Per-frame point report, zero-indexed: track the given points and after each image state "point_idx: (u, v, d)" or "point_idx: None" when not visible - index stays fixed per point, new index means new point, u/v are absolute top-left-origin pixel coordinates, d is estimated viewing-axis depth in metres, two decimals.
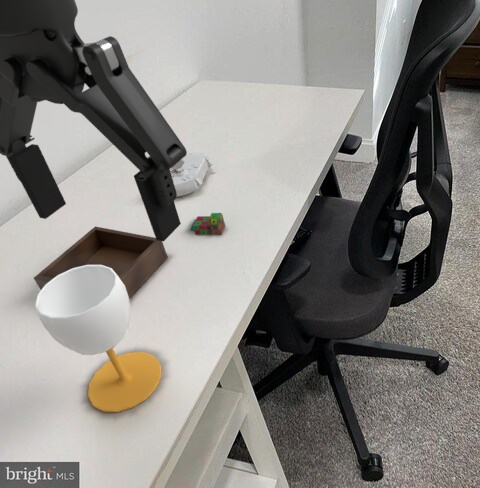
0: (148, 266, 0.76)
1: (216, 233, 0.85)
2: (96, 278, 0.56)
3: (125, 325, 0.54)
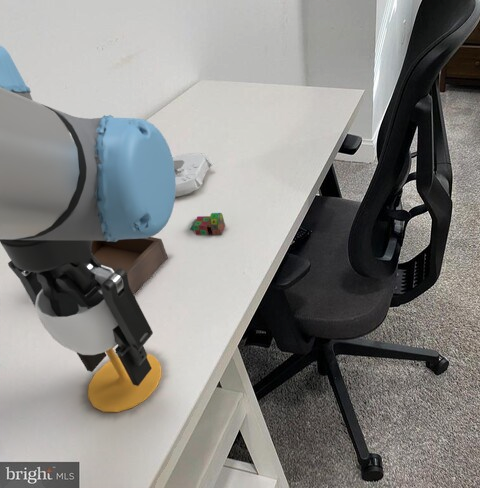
0: (148, 266, 0.76)
1: (216, 233, 0.85)
2: None
3: None
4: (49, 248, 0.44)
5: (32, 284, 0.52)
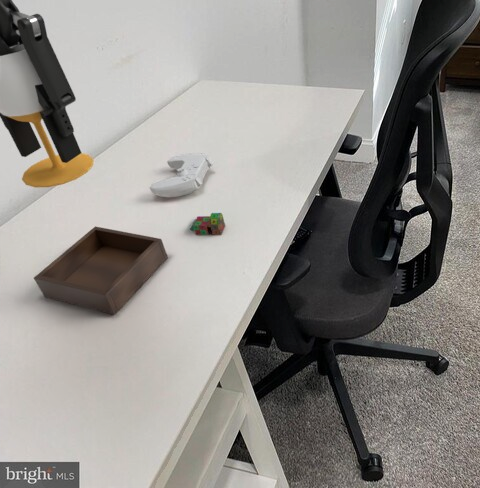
0: (148, 266, 0.76)
1: (216, 233, 0.85)
2: None
3: None
4: None
5: None
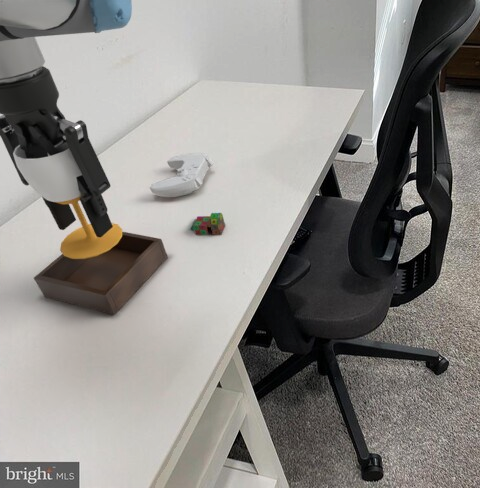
0: (148, 266, 0.76)
1: (216, 233, 0.85)
2: None
3: None
4: (21, 92, 0.56)
5: (11, 142, 0.64)
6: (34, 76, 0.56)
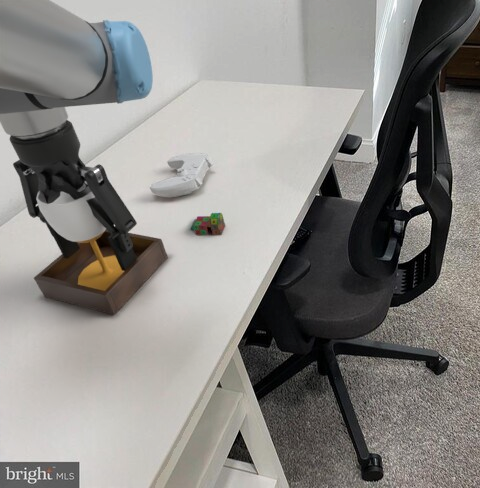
0: (148, 266, 0.76)
1: (216, 233, 0.85)
2: (83, 186, 0.72)
3: None
4: (47, 147, 0.60)
5: (28, 182, 0.68)
6: (59, 131, 0.61)
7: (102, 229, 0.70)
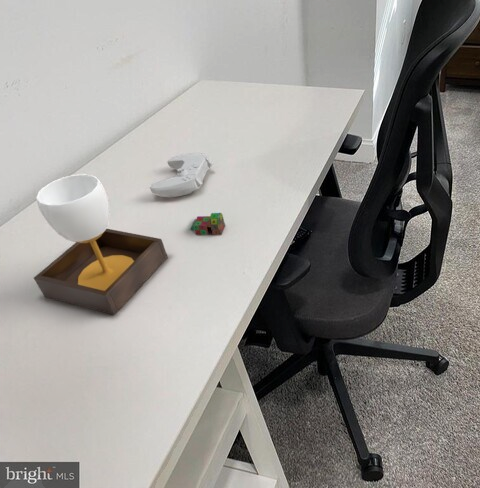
0: (148, 266, 0.76)
1: (216, 233, 0.85)
2: (83, 186, 0.72)
3: (105, 219, 0.70)
4: None
5: None
6: None
7: (102, 229, 0.70)
